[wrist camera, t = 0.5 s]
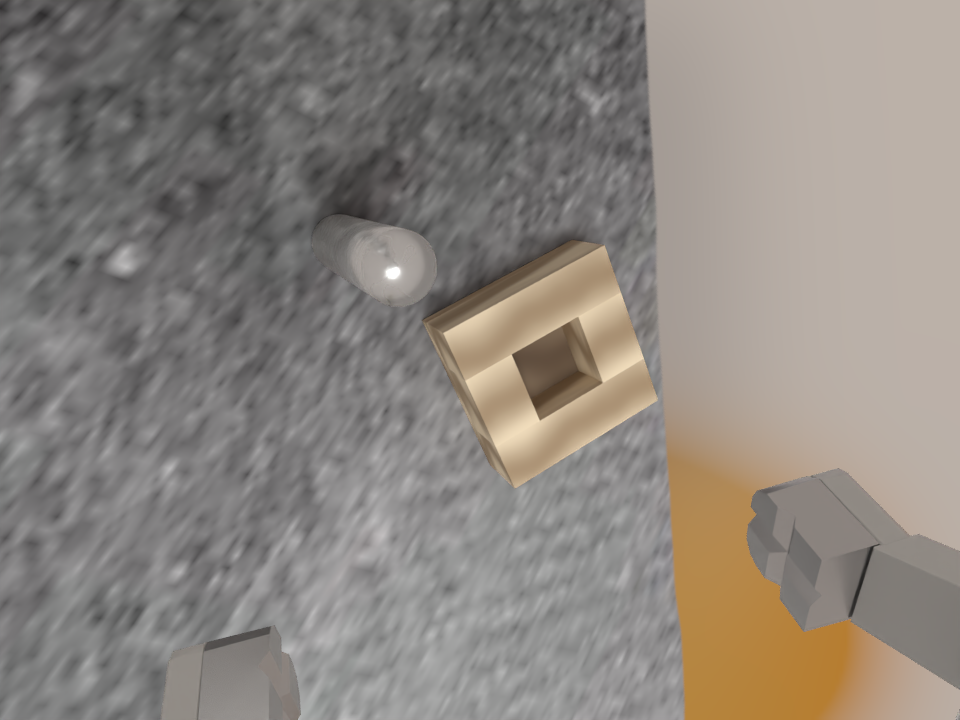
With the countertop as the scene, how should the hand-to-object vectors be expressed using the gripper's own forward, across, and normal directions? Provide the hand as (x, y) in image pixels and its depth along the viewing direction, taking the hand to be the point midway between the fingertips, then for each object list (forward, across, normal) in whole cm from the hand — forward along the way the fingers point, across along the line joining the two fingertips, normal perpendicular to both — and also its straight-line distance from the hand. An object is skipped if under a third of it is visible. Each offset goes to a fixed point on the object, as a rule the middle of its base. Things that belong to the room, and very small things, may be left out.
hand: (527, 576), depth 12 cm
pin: (+41, +2, +12) cm, 42 cm away
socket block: (+39, -10, +24) cm, 47 cm away
